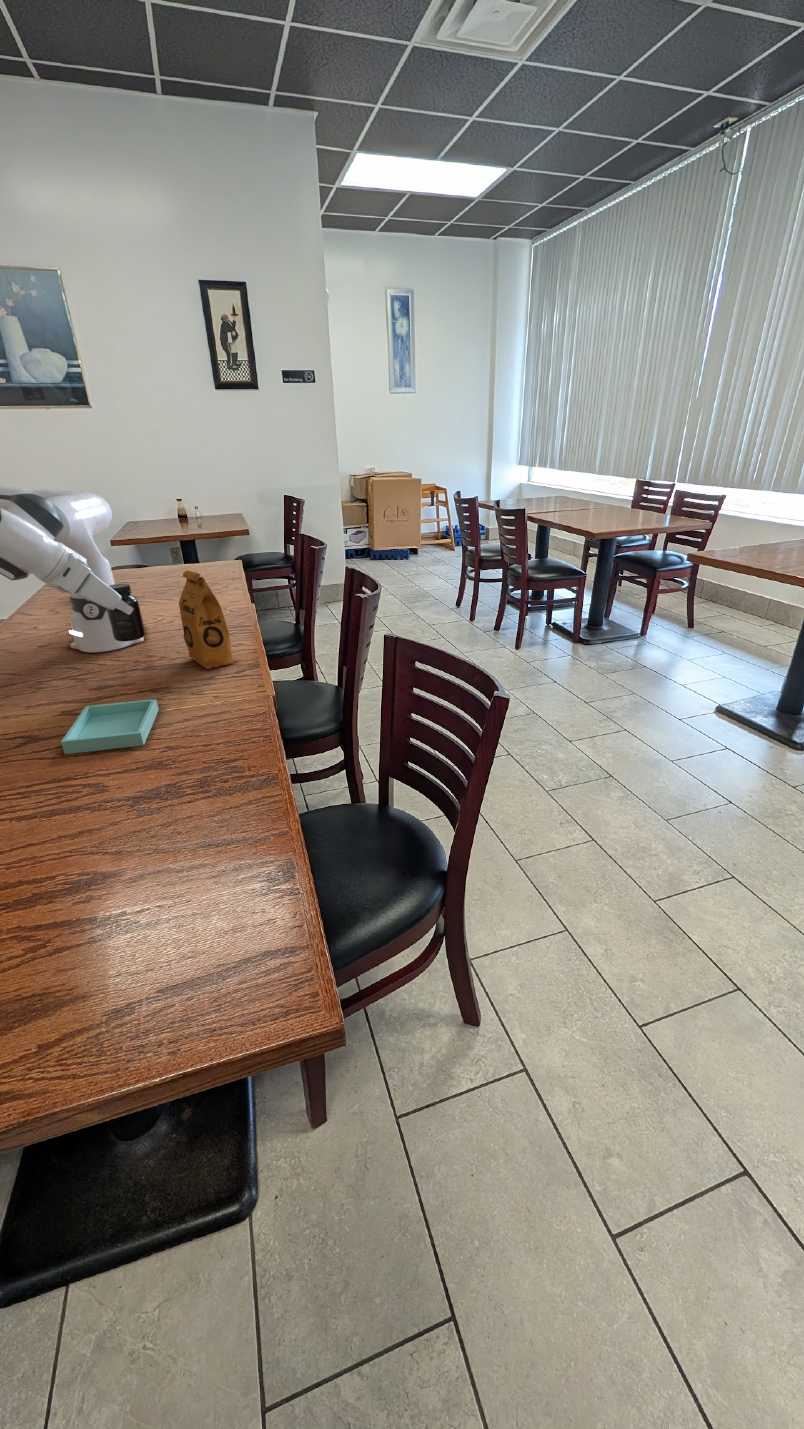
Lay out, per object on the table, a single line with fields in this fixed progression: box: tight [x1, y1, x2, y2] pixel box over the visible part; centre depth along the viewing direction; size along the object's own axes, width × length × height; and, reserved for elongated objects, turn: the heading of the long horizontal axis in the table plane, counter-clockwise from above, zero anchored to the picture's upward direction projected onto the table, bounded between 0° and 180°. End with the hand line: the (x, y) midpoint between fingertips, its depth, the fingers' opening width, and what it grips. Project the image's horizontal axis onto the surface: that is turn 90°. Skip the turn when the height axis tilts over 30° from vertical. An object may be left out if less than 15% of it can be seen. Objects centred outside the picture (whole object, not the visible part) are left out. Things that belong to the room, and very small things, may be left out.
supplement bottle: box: [106, 583, 146, 641], centre depth 132 cm, size 7×7×12 cm
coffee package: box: [178, 569, 234, 670], centre depth 142 cm, size 10×12×22 cm
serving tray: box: [60, 698, 160, 755], centre depth 113 cm, size 16×14×3 cm
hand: (126, 607), depth 132 cm, fingers closed on supplement bottle, 7 cm apart
